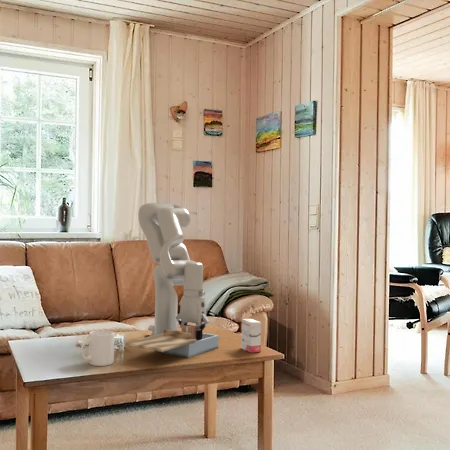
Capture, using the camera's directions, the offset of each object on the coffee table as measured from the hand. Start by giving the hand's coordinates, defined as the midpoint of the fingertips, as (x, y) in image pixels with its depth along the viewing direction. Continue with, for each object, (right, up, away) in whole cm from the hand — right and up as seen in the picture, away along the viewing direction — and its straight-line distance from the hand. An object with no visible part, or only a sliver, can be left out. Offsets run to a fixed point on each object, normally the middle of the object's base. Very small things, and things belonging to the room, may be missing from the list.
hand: (191, 338), depth 230 cm
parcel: (-1, -3, -1) cm, 3 cm away
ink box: (+23, -5, 0) cm, 24 cm away
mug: (-32, -4, -27) cm, 42 cm away
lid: (-10, +1, -16) cm, 19 cm away
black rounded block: (-42, -3, +3) cm, 42 cm away
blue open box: (-2, -4, -2) cm, 5 cm away
